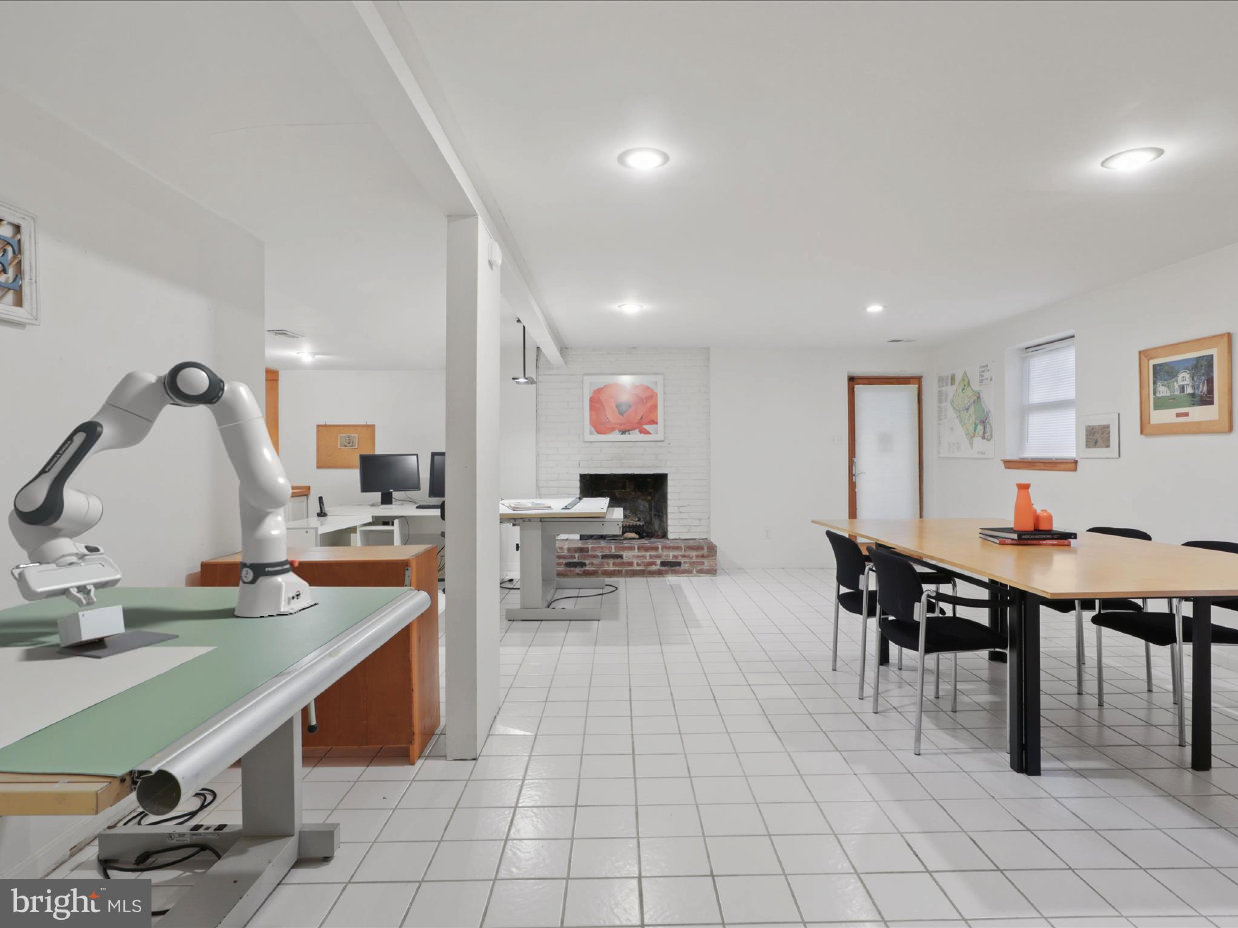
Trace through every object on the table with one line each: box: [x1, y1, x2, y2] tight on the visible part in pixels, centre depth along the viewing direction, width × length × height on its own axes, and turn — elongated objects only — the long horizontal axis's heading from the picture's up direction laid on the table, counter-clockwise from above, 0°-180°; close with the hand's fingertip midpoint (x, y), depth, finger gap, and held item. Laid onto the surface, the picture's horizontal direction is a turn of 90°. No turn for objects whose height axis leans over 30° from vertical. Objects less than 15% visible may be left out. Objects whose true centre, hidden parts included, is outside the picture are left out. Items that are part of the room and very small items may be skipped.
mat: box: [56, 630, 180, 659], centre depth 153 cm, size 18×13×1 cm
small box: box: [57, 604, 126, 649], centre depth 150 cm, size 8×6×13 cm
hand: (88, 604), depth 156 cm, fingers closed
